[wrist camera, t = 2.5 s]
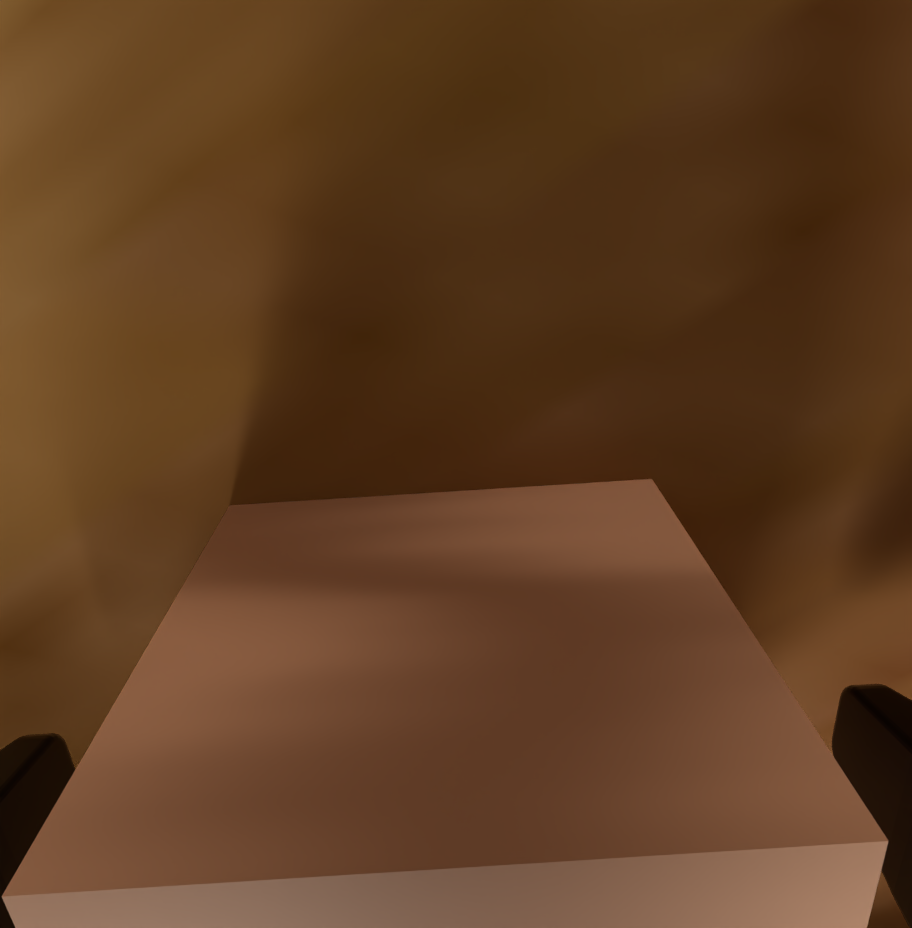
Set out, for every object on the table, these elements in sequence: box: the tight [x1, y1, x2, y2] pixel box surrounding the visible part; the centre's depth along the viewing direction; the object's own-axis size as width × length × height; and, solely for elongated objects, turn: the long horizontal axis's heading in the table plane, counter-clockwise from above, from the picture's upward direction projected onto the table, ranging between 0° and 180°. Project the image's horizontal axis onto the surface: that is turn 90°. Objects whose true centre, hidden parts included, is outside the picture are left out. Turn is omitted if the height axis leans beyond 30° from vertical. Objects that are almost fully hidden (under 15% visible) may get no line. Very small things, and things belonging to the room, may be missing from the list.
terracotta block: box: [2, 479, 888, 928], centre depth 7 cm, size 5×5×5 cm
